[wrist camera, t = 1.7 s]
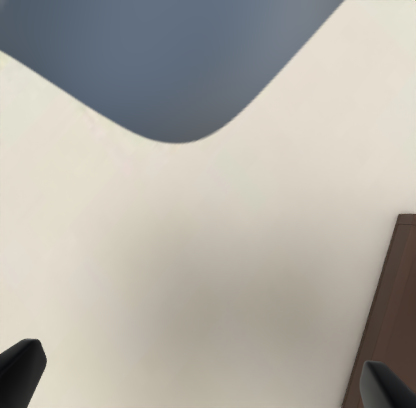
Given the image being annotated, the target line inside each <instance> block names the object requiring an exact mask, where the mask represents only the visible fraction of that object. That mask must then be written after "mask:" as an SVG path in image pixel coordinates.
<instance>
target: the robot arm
mask: <svg viewBox="0 0 416 408" xmlns="http://www.w3.org/2000/svg"><path fill="white" fill-rule="evenodd" d="M46 363H47V358H46V355H45V353H44V350H43V347H42V345H41V342H40V341H39V340H38V339H23V340H21V341H20V342H18V343H16V344H15V345H13V346H12V347H10V348H9V349H7V350H6V351H4V352H3V353H1V354H0V408H27V407H28V404H29V402H30V400H31V398H32V396H33V394H34V391H35V389H36V387H37V385H38V383H39V380H40V378H41V376H42V374H43V372H44V370H45V367H46ZM360 392H361V397H362V401H363V405H364V408H416V394H415V393H414V392H413V391H412V390H411V389H410V388H409V387H408V386H407V385H406V384H405V383H404V382H403V381H402V380H401V379H400V378H399V377H398V376H397V375H396V374H395V373H394V372H393V371H392V370H391V369H390V368H389V367H388V366H387V365H386V364H384V363H383V362H380V361H365V362H364V365H363V369H362V374H361V378H360Z"/></svg>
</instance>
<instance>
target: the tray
mask: <svg viewBox="0 0 416 408" xmlns="http://www.w3.org/2000/svg"><path fill="white" fill-rule="evenodd" d="M365 361H380V362H383V363H384V364H386V365H387V366H388V367H389V368H390V369H391V370H392V371H393V372H394V373H395V374H396V375H397V376H398V377H399V378H400V379H401V380H402V381H403V382H404V383H405V384H406V385H407V386H408V387H409V388H410V389H411V390H412V391H413V392H414V393H415V394H416V214H399V216H398V219H397V223H396V226H395V230H394V233H393V236H392V240H391V243H390V246H389V250H388V253H387V256H386V260H385V263H384V267H383V270H382V273H381V277H380V280H379V283H378V287H377V290H376V293H375V297H374V300H373V304H372V307H371V310H370V314H369V317H368V320H367V324H366V327H365V330H364V334H363V337H362V341H361V344H360V347H359V351H358V354H357V357H356V361H355V364H354V367H353V371H352V374H351V378H350V381H349V384H348V388H347V391H346V394H345V398H344V401H343V404H342V408H364V405H363V401H362V397H361V392H360V378H361V374H362V369H363V365H364V362H365Z"/></svg>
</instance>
